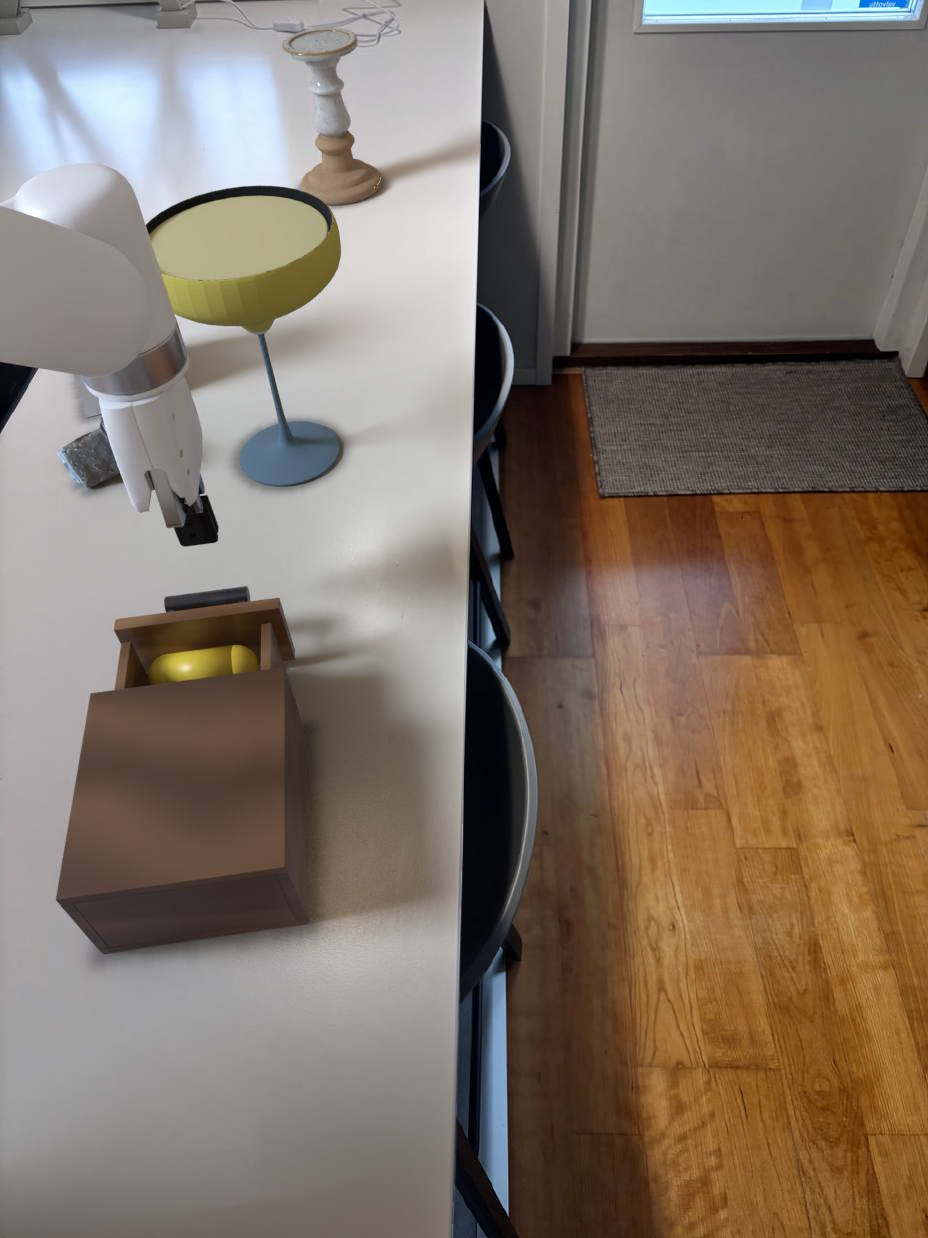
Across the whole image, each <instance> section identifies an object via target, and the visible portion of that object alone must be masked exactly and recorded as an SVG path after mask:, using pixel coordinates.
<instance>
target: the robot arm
mask: <svg viewBox="0 0 928 1238" xmlns="http://www.w3.org/2000/svg"><path fill="white" fill-rule="evenodd" d="M0 363H6V364H12V365H17V366H23V367H30V368H34V369H35V368H36V369H41V370H46V371H53V372H59V373H64V374H71V375H74V374H75V375H81V376H82V378H83V380H84V383H85V385H86V387H87V389H88V391H89V392H90V393H92V394H93V395H94V396H96V397H98V398H99V404H100V409H101V414H100V415H101V418H102V417H103V421H104V425H105V429H106V432H107V436H108V439H109V442H110V445H111V448H112V451H113V454H114V457H115V460H116V462H117V465H118V468H119V471H120V473H119V474H120V476H121V478H122V481H123V484H124V487H125V490H126V492H127V495H128V497H129V500H130V503H131V504H132V507H133V509H134V510H135V511H137V513H146V512H149V511H150V504H151V499H152V498H151V497H152V491H155V495H156V498H157V501H158V504H159V507H160V511H161V513H162V518H163V520H164V524H165V526H166V529H174V533H175V535H176V537H177V540H178V542H179V545H180V546H182V547H185V548H186V547H193V546H202V545H208V544H209V545H210V544H215V543H217V542H219V534H218V533H219V529H220V527H219V524H218V521H217V518H216V515H215V512H214V510H213V509H214V508H213V507H212V503H211V500H210V498H209V495H208V494H205V493H206V489H205V484H204V480H203V476H202V473H201V471H202V470H201V469H202V467H201V466H202V457H203V430H202V425H201V421H200V417H199V413H198V410H197V407H196V403H195V401H194V398H193V395H192V393H191V390H190V387H189V384H188V381H187V379H186V376H185V375H186V374H187V372H188V370H189V367H190V357H189V353H188V351H187V348H186V344H185V342H184V338H183V335H182V332H181V329H180V326H179V323H178V320H177V317H176V314H174V311H173V308H172V305H171V302H170V299H169V296H168V292H167V289H166V286H165V283H164V280H163V277H162V274H161V271H160V268H159V265H158V262H157V259H156V255H155V252H154V249H153V246H152V243H151V240H150V237H149V234H148V231H147V228H146V222H145V219H144V215H143V213H142V209H141V206H140V203H139V201H138V197H137V194H136V191H135V190H134V187H132V184H131V183H130V182H129V180H128V179H127V178H126V177H125V176H124V175H123V174H122V173H121V172H119V171H118V170H117V169H114V168H112V167H109V166H107V165H104V164H100V163H93V162H92V163H91V162H90V163H89V162H88V163H87V162H85V163H84V162H83V163H72V164H65V165H61V166H57V167H52V168H51V169H48V170H45V171H43V172H40V173H38V174H36V175H34V176H32V177H30V178H29V179H28V180H26V181H25V182H24V183H22V185H21V186H20V187H19V189H18V190H17V192H16V193H15V195H14V196H12V197H10V198H8V199H6V200H3V201H2V202H0Z"/></svg>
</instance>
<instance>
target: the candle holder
mask: <svg viewBox="0 0 928 1238" xmlns="http://www.w3.org/2000/svg"><path fill="white" fill-rule="evenodd" d="M358 45H359V39H358V36H357V35H356V33H355V32H353V31H352V30H350V29H346V28H339V27H318V28H311V29H306V30H302V31H299V32H297V33H296V32H295V33H293V34H291V35H290V36H288V37H287V38H285V39H284V40H283V42H282V44H281V49H282V52H283V55H284V56H285V57H287V58H289V59H290V60H295V61H299V62H303V63H304V64H305V65H306V67H308V68H309V69H310V71H311V74H312V79H311V81H310V82H309V84H308V90H309V92H310V93H311V94H313V96H314V105H313V106H314V107H313V118H312V125H313V126H312V127H313V128H314V130H315V132H317V133H318V135H317V137H316V138H315V140H314V144H315V147H316V148H317V149H318V150H319V151H320V153H321V162H319V163H318V164H316V165H314V167H312V168H311V170H309V171H308V172H307V173H305V174H304V175H303V177H302V178H301V181H300V190H301V191H304V192H307V193H309V194H312V195H314V196H316V197H318V198H319V199H321V200H322V201H324V202H325V203H326V204H327V205H328V206H340V205H349V204H353V203H358V202H360V201H363V200H365V199H368V198H370V197H372V196H373V195H375V194H376V193H377V192H378V191H379V189H380V188H381V186H382V179H381V180H380V177H381V178H382V176H381V173H380V171H379V170H378V168H376V167H375V166H373V165H371V164H369V163H366V162H365V161H363V160H361V159H357V158H354V155H353V152H352V147H353V145H354V144H355V142H356V141H355V140H356V138H355V136H354V134H353V133H351V132H350V130H349V129H350V127H351V124H352V119H351V116H350V113H349V112H348V109H347V106H346V104H345V101H344V99H343V95H342V91H343V89H344V87H345V82H344V80H343V79H341V78H340V77H339V75H338V73H337V67H338V64H339V63H340V61H341V59H342V57H345V56H347V55H349V54H351V53H352V52H354V51H355V50H356V49H357V48H358ZM379 181H380V183H379ZM378 183H379V184H378ZM377 184H378V185H377ZM301 187H302V189H301ZM374 187H375V188H374Z"/></svg>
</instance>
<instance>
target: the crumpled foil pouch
mask: <svg viewBox="0 0 928 1238" xmlns="http://www.w3.org/2000/svg"><path fill="white" fill-rule="evenodd" d="M56 455H57V457H59V458H60V460H62V466H63V467H64V469H65V470H66V471H67V472H68V473H69V474H70V476H71V478H72V479H73V480H76V482H77V483H78V484H80V485H83V486H85V488H86V489H91V488H93V487H96V486H98V485H99V484H101V483H102V482H106V481H107V480H109V479H111V478H113V477H116V476H117V475H119V474H121V473H120V471H119V468H118V465H117V462H116V460H115V457H114V454H113V451H112V448H111V445H110V442H109V439H108V436H107V432H106V429H105V425H104V421H103V417H102V416H101V417H100V423H99V428H98V429H96V430H93V431H90V432H87V433H85V434H83V435H80V436H79V437H77V438H75V439H74V440H73V441H70V442H68V443H67V444H66V445H64V446H63V447H61V448H60V449H58V450H57V451H56Z"/></svg>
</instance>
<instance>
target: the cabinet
mask: <svg viewBox="0 0 928 1238" xmlns="http://www.w3.org/2000/svg"><path fill="white" fill-rule="evenodd" d="M285 668H286V666H285V667H281V668H274V669H266V670H259V671H251V672H244V673H237V674H229V675H222V676H215V677H207V678H200V679H192V680H185V681H178V682H170V683H163V684H155V685H148V686H141V687H133V688H126V689H119V690H114V689H112V690H105V691H104V690H103V691H97V692H91V693H90V695H89V701H88V705H87V712H86V716H85V717H86V719H85V722H84V723H85V724H84V729H83V736H82V740H81V741H82V742H81V747H80V754H79V759H78V765H77V772H76V777H75V783H74V789H73V794H72V802H71V806H70V811H69V819H68V823H67V829H66V836H65V842H64V849H63V853H62V860H61V866H60V872H59V877H58V883H57V890H56V895H55V901H56V903H58V904H59V906H60V907H61V908H62V909H63V911H64V912H65V913H66V914H67V915H68V916H69V917H70V919H71V920H72V921H73V922H74V924H75V925H76V926H77V927H78V928H79V929H80V931H81V932H82V933H83V934H84V935H85V936H86V937H87V938H88V939H89V941H90V942H91V943H92V944H93V946H95V948H96V949H97V950H98V951H99V952H100V953H101V954H108V953H115V952H123V951H128V950H129V951H130V950H135V949H136V950H137V949H143V948H149V947H156V946H164V945H170V944H176V943H177V944H178V943H184V942H191V941H197V940H198V941H199V940H204V939H211V938H217V937H218V938H219V937H224V936H225V937H226V936H232V935H239V934H245V933H252V932H259V931H264V930H265V931H266V930H271V929H272V930H273V929H279V928H280V929H281V928H286V927H293V926H299V925H300V926H301V925H306V924H309V923H310V899H309V898H310V895H309V893H310V892H309V887H310V885H309V846H308V844H309V843H308V841H309V840H308V839H309V837H308V796H307V795H308V794H307V793H308V791H307V787H308V786H307V741H306V729H305V726H304V722H303V720H302V717H301V714H300V711H299V707H298V703H297V701H296V698H295V694H294V691H293V688H292V685H291V682H290V680H289V675H288V673H286V671H287V669H286V670H285Z"/></svg>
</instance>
